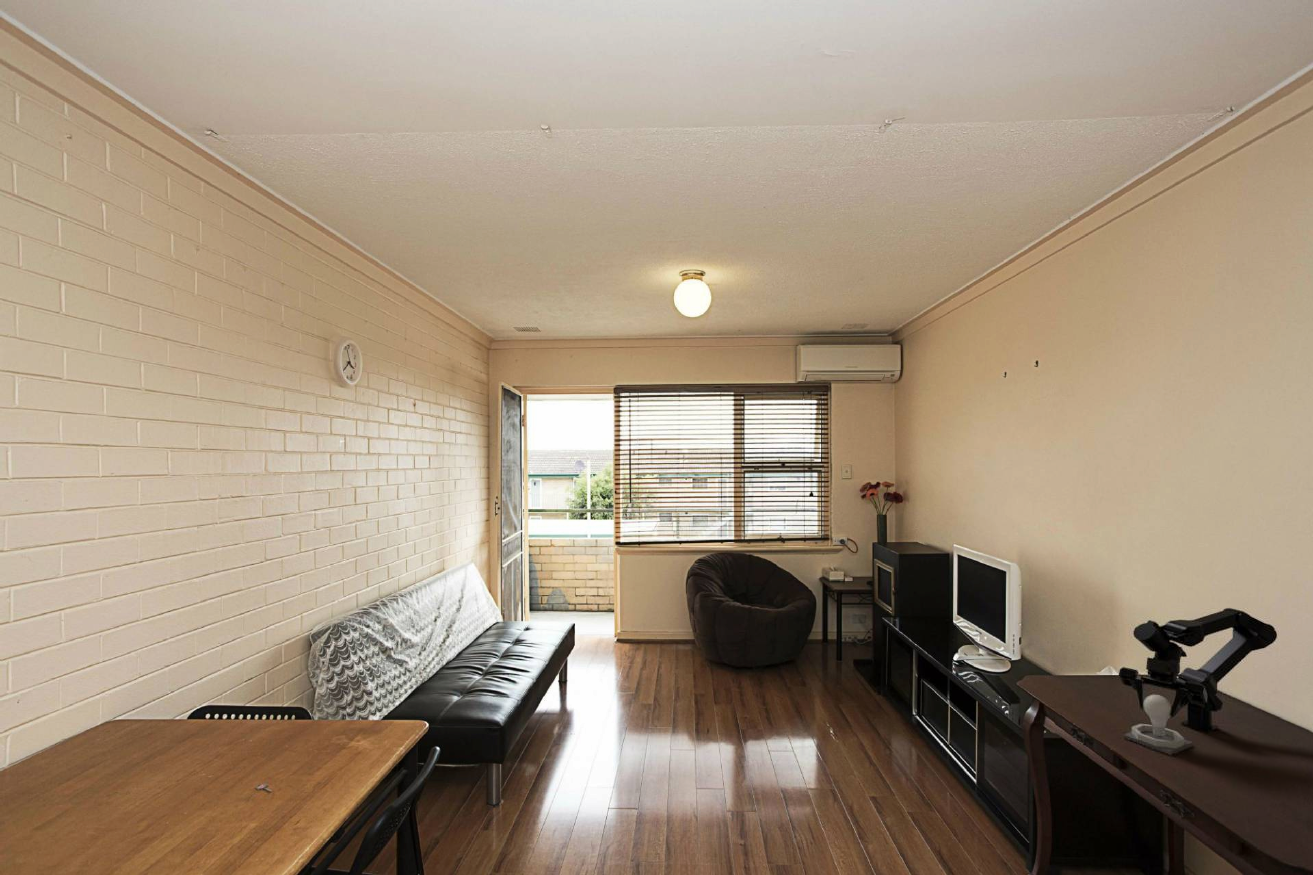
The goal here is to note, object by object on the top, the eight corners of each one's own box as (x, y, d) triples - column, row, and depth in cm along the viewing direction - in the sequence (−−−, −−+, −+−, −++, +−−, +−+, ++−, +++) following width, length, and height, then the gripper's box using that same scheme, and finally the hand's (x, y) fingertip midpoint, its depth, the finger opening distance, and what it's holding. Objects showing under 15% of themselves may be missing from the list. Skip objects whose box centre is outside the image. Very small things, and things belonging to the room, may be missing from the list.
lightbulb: (1179, 742, 173) (1177, 700, 173) (1152, 741, 174) (1150, 699, 175) (1166, 732, 179) (1163, 691, 180) (1139, 730, 181) (1137, 690, 181)
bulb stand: (1146, 729, 184) (1145, 721, 184) (1192, 746, 175) (1192, 736, 175) (1123, 738, 179) (1123, 729, 179) (1170, 755, 170) (1170, 745, 170)
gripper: (1120, 638, 187) (1108, 687, 180) (1204, 654, 172) (1195, 708, 165) (1128, 659, 192) (1117, 708, 185) (1211, 676, 178) (1202, 729, 171)
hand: (1156, 712), depth 176 cm, fingers closed on lightbulb, 6 cm apart
